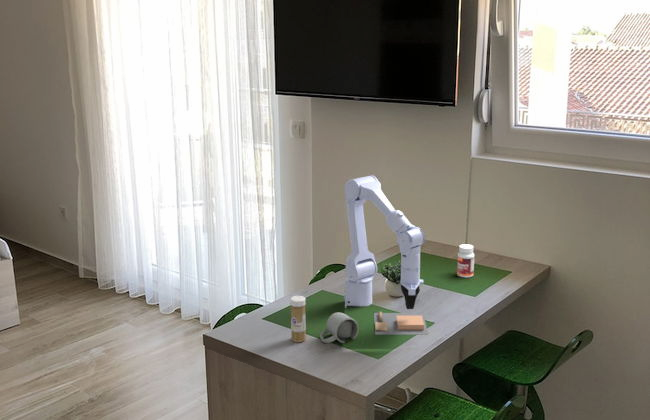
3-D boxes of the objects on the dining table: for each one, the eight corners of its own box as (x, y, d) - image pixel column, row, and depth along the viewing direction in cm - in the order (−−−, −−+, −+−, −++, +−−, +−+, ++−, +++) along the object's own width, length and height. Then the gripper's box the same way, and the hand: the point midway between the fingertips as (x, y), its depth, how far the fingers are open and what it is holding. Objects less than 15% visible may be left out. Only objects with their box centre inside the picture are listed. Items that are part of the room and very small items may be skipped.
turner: (375, 331, 211) (375, 327, 211) (374, 314, 223) (374, 311, 223) (387, 331, 211) (387, 327, 211) (385, 314, 223) (385, 311, 223)
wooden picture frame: (396, 320, 219) (397, 329, 212) (396, 315, 218) (397, 324, 211) (421, 320, 218) (423, 330, 211) (422, 315, 218) (424, 324, 211)
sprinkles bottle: (289, 341, 207) (287, 299, 204) (295, 335, 211) (293, 294, 208) (303, 343, 206) (301, 301, 202) (308, 337, 210) (307, 296, 206)
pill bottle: (454, 276, 258) (455, 247, 255) (460, 271, 263) (461, 242, 260) (470, 278, 255) (471, 249, 252) (475, 273, 260) (476, 245, 257)
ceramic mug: (346, 330, 214) (345, 307, 212) (359, 340, 207) (358, 316, 205) (315, 337, 210) (314, 314, 208) (327, 348, 203) (326, 324, 201)
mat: (375, 336, 209) (375, 334, 209) (373, 315, 225) (373, 312, 224) (428, 336, 209) (428, 334, 208) (423, 315, 224) (423, 313, 224)
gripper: (425, 275, 204) (425, 317, 208) (421, 259, 218) (420, 299, 222) (401, 275, 205) (401, 317, 208) (399, 259, 218) (398, 299, 222)
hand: (409, 308), depth 215 cm, fingers closed
